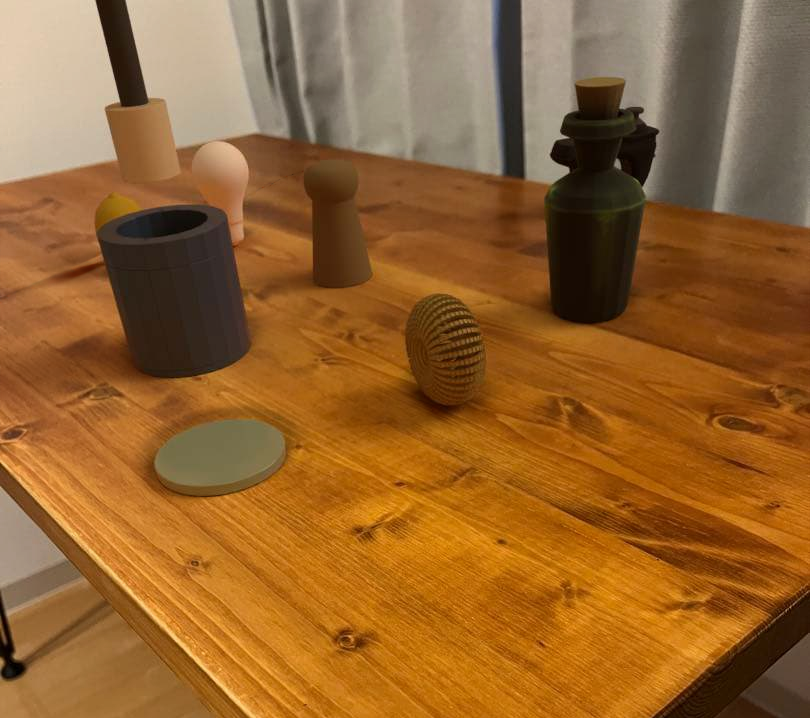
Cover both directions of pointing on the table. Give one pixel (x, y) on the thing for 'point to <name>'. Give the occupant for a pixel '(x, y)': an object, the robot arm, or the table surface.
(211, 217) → the jar
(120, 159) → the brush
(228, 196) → the lightbulb
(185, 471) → the coaster
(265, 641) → the table surface
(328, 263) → the cork
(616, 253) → the potion bottle
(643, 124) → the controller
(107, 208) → the lemon
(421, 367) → the sculpture
